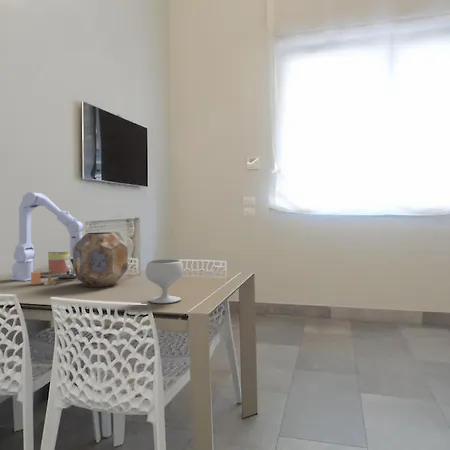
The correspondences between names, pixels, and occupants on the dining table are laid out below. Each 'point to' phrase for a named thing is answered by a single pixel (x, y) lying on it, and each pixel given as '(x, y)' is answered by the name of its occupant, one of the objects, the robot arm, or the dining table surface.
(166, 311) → the dining table surface
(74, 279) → the wheel mount
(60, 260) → the canned food
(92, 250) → the planter
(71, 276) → the handwheel
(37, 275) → the hook rod
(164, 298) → the chalice
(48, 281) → the eye post
